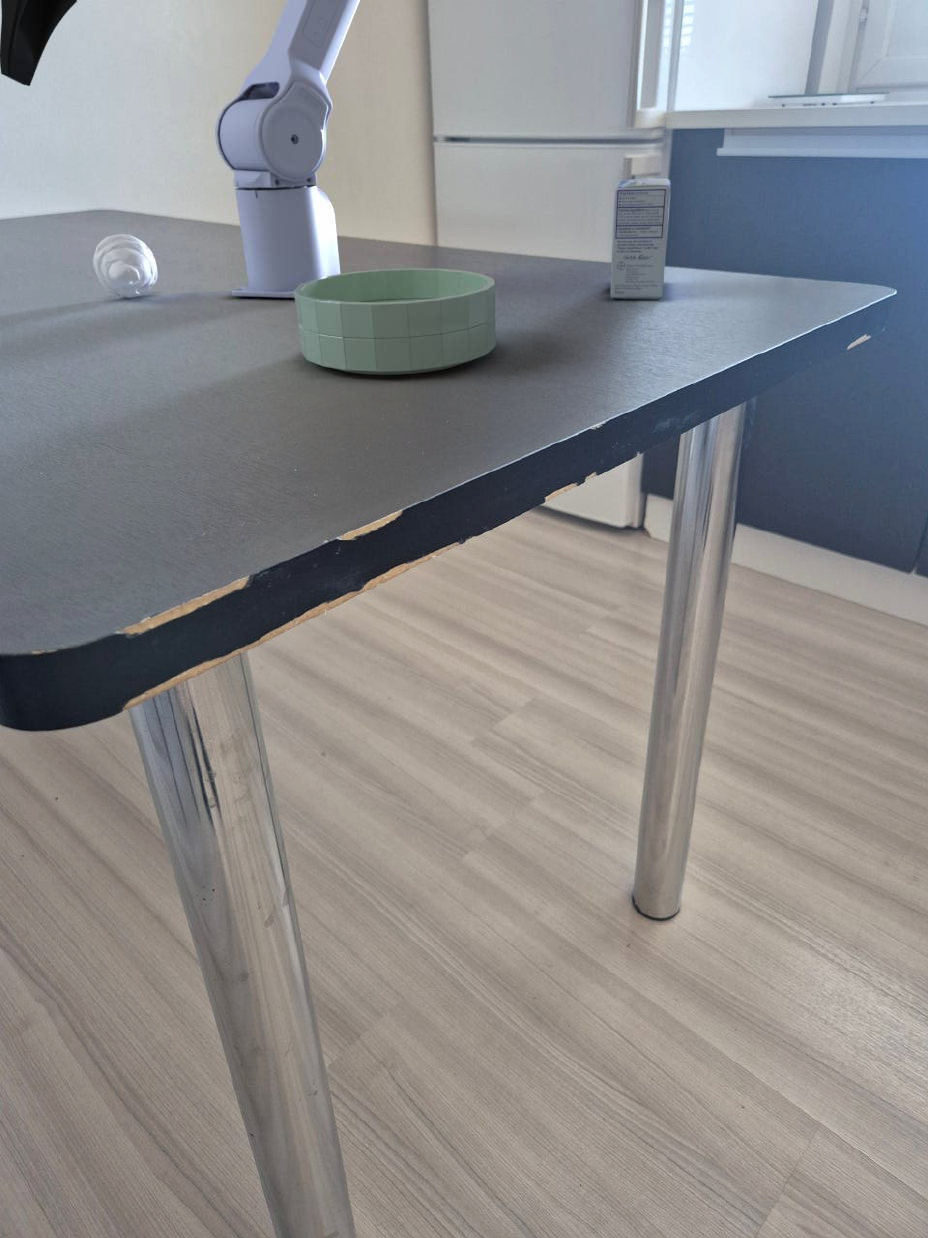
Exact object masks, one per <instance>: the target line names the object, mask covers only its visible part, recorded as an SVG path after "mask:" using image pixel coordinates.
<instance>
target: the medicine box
mask: <svg viewBox="0 0 928 1238" xmlns="http://www.w3.org/2000/svg"><path fill="white" fill-rule="evenodd" d="M613 202H614V203H613V217H612V219H613V221H612V244H611V265H610V298H611V299H616V300H617V299H618V300H661V298H663V293H664V283H665V281H664V280H665V267H666V256H667V255H666V254H667V241H668V229H669V216H670V205H671V203H670V202H671V180H670V179H669V178H633V179H626V180H622V181H620V183H619V184H618V186H617V188H615V192H614V201H613Z"/></svg>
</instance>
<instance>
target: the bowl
mask: <svg viewBox="0 0 928 1238" xmlns="http://www.w3.org/2000/svg"><path fill="white" fill-rule="evenodd" d="M494 279H495V278H493V277H490V276H488V275H485V274H483V273H479V272H473V271H468V270H461V269H460V270H459V269H448V268H423V267H421V268H420V267H419V268H418V267H414V268H413V267H411V268H410V267H409V268H408V267H407V268H383V269H382V268H381V269H371V270H361V271H350V272H345V273H340V274H337V275H331V276H326V277H322V278H318V279H313V280H310V281H308V282H305V283H303V284H300V285H298V286H297V288H296V289H295V290H294V297H295V298H294V304H295V312H296V321H297V329H298V335H299V337H298V338H299V344H300V351H301V354H302V355H303V357H304V358H305V360H306V361H308V362H310V363H313V364H316V365H318V366H321V367H324V368H331V369H334V370H336V371H337V370H338V371H342V372H346V373H353V374H360V375H376V376H393V375H394V376H395V375H411V374H414V375H415V374H422V373H429V372H430V373H431V372H436V371H442V370H445V369H451V368H453V367H457V366H460V365H463V364H465V363H468V362H471V361H474V360H476V359H479V358H481V357H483V356H486V355H489V354H490V352H492V351H493V350H494V349H495V348H496V344H497V343H496V341H497V339H496V283H495V280H494Z"/></svg>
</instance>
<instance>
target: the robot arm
mask: <svg viewBox="0 0 928 1238" xmlns="http://www.w3.org/2000/svg"><path fill="white" fill-rule="evenodd" d="M360 1H361V0H286V3H285V4H284V7H283V10H282V12H281V16H280V18H279V20H278V23H277V26H276V28H275V31H274V33H273V35H272V38H271V41H270V43H269V46H268V49H267V51H266V53H265V55H264V56H263V57H262V58H261V60H260V61H259V62H258V63H257V64H256V65H255V66H254V68H253V69H252V70H251V71H250V72H249V74H247V76H246V77H245V79H244V81H243V84H242V87H241V89H240V90H239V92H238V94H237V95H236V96H235V98H234V99H232V100H231V101H230V102H228V103H227V104H226V105H225V106H224V107H223V108H222V109H221V111H220V113H219V114H218V117H217V119H216V123H215V128H214V131H215V132H214V135H215V143H216V148H217V150H218V153H219V155H220V158H221V159H222V161H223V162H224V164H225V165H226V166H227V167H228V168H229V169H230V170H231V171H232V172H233V175H234V177H233V186H234V187H235V189H234V193H235V200H236V207H237V213H238V219H239V227H240V232H241V233H240V234H241V239H242V246H243V252H244V253H243V254H244V260H245V266H246V272H247V280H248V284H246V285H244V286H240V287H238V288H235V289H231V296H232V297H251V298H284V299H285V298H287V299H288V298H289V299H290V298H291V299H295V297H294V290H295V289H296V288H297V286H298V285H300V284H303V283H305V282H308V281H310V280H313V279H318V278H322V277H326V276H331V275H337V274H341V266H340V256H339V246H338V235H337V234H338V233H337V225H336V224H337V223H336V215H335V210H334V207H333V205H332V203H331V200H330V199H329V197H328V196H327V195H326V193H325V192H324V191H323V190H322V189H320V188H319V187H318V180H317V172H318V171H319V169H320V167H321V166H322V164H323V161H324V159H325V155H326V150H327V126H328V121H329V118H330V116H331V113H332V110H333V106H334V105H333V102H332V99H331V96H330V93H329V91H328V88H327V83H328V79H329V78H330V75H331V74H332V70H333V69H334V66H335V63H336V61H337V59H338V55H339V53H340V50H341V48H342V45H343V43H344V41H345V38H346V35H347V33H348V30H349V28H350V26H351V23H352V20H353V18H354V15H355V13H356V11H357V8H358V6H359V3H360ZM77 3H78V0H0V6H1V7H0V8H1V9H0V10H1V25H0V74H1V75H2V76H4V77H7V78H8V79H10V80H13V81H15V82H17V83H19V84H20V85H23V86H27V87H31V84H32V82H33V79H34V76H35V73H36V71H37V68H38V66H39V63H40V61H41V58H42V55H43V53H44V52H45V49H46V47H47V45H48V42H49V40H50V38H51V36H52V35H53V33H54V32H55V30H56V28H57V27H58V26H59V23H60V22H61V21H62V19H63V18H64V17H65V16H66V14H67V13H68V12H69V10H70V9H71V8H72V7H74V6H75V5H76V4H77Z"/></svg>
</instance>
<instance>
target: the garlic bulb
mask: <svg viewBox="0 0 928 1238" xmlns="http://www.w3.org/2000/svg"><path fill="white" fill-rule="evenodd" d="M92 264H93V269H94V271H95V274H96V276H97V278H98V280H99V282H100V284H101V285H102V287H103V288H104V289H105V290H106V291H107V292H108V293H110V294H112V295H115V296H122V297H123V298H124V297H125V298H127V299H133V298H138V297H141V296H143V295H145V294H146V293H147V291H149V290H150V289H151V288H152V287H153V286H154V284H156V282H157V280H158V267H157V263H156V258H155V256H154V254H153V252H152V250H151V249H150V248H149V247H148V246H147V244H146V243H145V242H144V241H142V240H141V239H139V238H137V237H136V236H134V235H131V234H128V233H127V234H126V233H117V234H111V235H108V236H106V237H104V238H103V239H101V241H100V242H99V243H98V244H97V245H96V247H95V251H94V255H93V258H92Z"/></svg>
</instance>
